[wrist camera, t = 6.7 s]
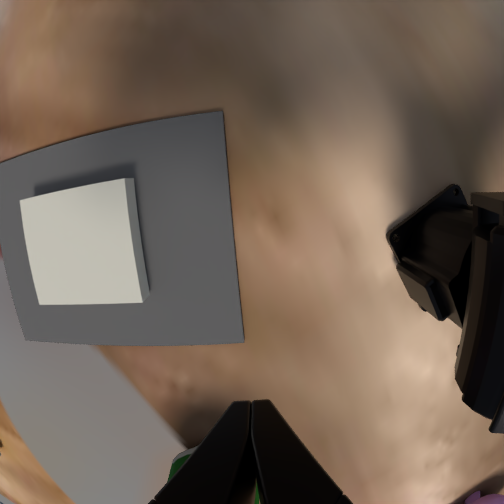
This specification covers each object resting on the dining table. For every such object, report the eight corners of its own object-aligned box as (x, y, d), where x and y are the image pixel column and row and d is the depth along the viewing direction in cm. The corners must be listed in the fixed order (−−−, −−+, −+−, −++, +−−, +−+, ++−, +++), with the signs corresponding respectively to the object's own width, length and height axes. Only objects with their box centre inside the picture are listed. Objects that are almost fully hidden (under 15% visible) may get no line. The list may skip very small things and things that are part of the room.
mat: (223, 112, 17) (222, 110, 16) (244, 339, 20) (244, 342, 19) (-5, 166, 17) (-8, 166, 17) (28, 338, 20) (25, 340, 20)
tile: (124, 178, 16) (19, 200, 16) (142, 302, 17) (39, 304, 17) (135, 178, 17) (34, 198, 17) (151, 292, 19) (52, 296, 19)
